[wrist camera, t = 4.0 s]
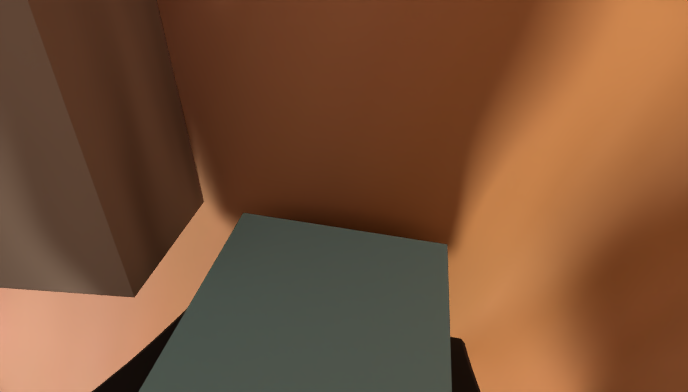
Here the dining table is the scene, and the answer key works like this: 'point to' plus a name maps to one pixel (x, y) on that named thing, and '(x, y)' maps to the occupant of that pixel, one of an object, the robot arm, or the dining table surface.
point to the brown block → (89, 146)
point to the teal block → (313, 315)
